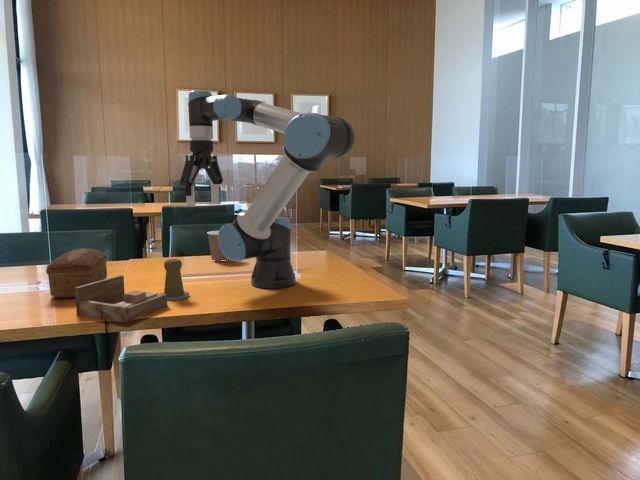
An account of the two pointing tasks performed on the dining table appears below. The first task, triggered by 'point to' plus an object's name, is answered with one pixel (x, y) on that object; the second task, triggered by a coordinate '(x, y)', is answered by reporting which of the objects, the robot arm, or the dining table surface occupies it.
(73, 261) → the bread
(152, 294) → the offcut
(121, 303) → the offcut
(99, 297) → the tray
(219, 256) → the coffee cup
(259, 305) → the dining table surface
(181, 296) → the coaster
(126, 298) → the offcut
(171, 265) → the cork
